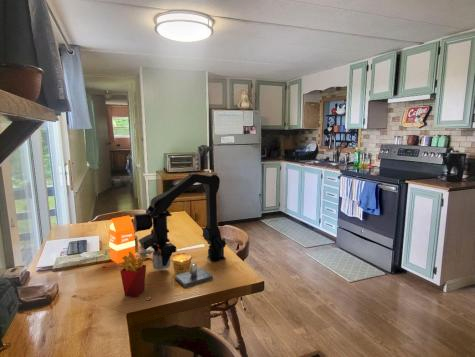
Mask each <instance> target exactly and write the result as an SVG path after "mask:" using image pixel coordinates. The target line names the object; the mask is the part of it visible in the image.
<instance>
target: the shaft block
mask: <svg viewBox="0 0 475 357" xmlns="http://www.w3.org/2000/svg"><path fill="white" fill-rule="evenodd" d="M174 276H175V280H176V281H177V282H179V284H180V285H182V287H184V288H188V287H192V286H195V285H198V284H202V283H205V282H209V281H212V280H214V279H213V278H214V277H213V274H211V273H210V272H208V271H207V270H206V269H205V268H203V267H201V268H198V264H197V263H191V264H190V265H189V271H186V272H181V273H178V274H175V275H174Z"/></svg>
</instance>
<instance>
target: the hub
mask: <svg viewBox="0 0 475 357" xmlns="http://www.w3.org/2000/svg"><path fill="white" fill-rule="evenodd" d="M158 252H159V251H158V250H157V251H155V252H153V253H152V267H153V269H154V270H159V271H163V270H166V269H169V268H170V267H171V258H170V259H169V261H168V263H167V265H166V266H165V267H164V266H163V262H162V257H161V255H160V254H159V253H158Z"/></svg>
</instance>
